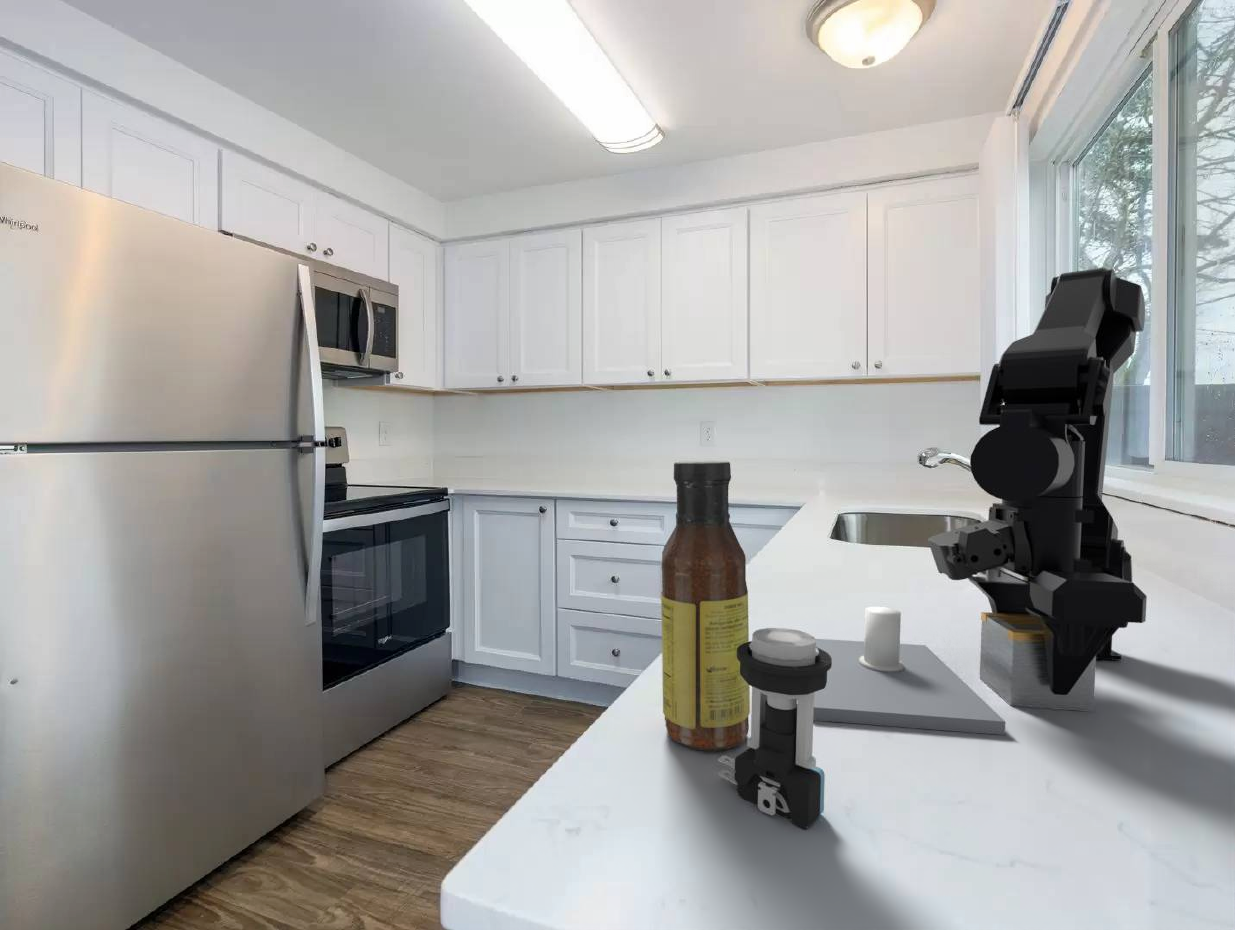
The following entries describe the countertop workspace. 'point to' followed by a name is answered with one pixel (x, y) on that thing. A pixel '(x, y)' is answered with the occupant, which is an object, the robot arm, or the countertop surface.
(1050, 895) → the countertop surface
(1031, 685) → the open cube shelf
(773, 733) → the push button
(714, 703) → the sauce bottle
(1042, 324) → the robot arm
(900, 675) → the panel
